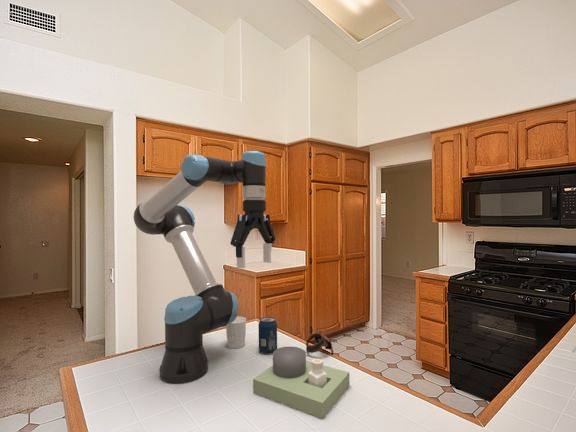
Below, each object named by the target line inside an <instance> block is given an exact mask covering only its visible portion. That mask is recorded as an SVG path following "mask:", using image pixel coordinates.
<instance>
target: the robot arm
mask: <svg viewBox="0 0 576 432" xmlns="http://www.w3.org/2000/svg"><path fill="white" fill-rule="evenodd" d="M241 155H242V156H241V159H240V160H234V161H233V160H232V161H231V160H226V159H220V158H216V157H209V156H207V155H206V156H205V155H201V154H191V153H190V154H188V155H186V156H184V157H183V160H182V162H181V164H180V171H179V172H178V173H177V174H175V176H173V178H171V179H170V180H169V181H168V182H167V183H166V184H165V185H163V186H162V187H161V188H160V189H159V190H158V191H157V192H156V193H154V195H153V196H151V197H150V198H148V199H144V200H143V201H141V202H140V203H139V204H138V205H137V207H136V208H135V210H134V212H133V222H134V225H135V226H136V228H137V229H138V230H139V231H140V232H142V233H144V234H146V235H152V236H153V235H154V236H155V235H163V238H164V240H165V242H167V243H169V244H171V245H172V247H173V250H174V251H175V254H176V256H177V258H178V260H179V262H180V264H181V266H182V269H183V271H184V273H185V275H186V278H187V279H188V281H189V284H190V286H191V288H192V290H193V292H194V295H188V296H181V297H179V298H175V299H173V300H172V301H170V302H169V303H167V305H166V307H165V311H164V317H163V319H164V320H163V321H164V338H165V339H164V348H165V349H164V353H163V357H162V361H161V364H160V366H159V379H160V380H161V381H162V382H164V383H167V384H185V383H189V382H193V381H196V380H197V379H200V378H202V377H204V376H205V375H206V374H207V373H208V371H209V360H208V357H207V354H206V351H205V349H204V346H203V344H204V343H203V339H204V337H203V335H204V334H206V333H209V332H211V331H215V330H217V329H220V328H223V327H224V328H225V327H226V325H228V324H230V323H232V322H233V321H234V320H235V319H236V317H238V314H239V301H238V298H237V296H236V295H235V293H233V292H231V291H230V290H229V291H228V290H226V289H225V288H224V286H223V284H221V283H218V282H217V281H216V279H215V277H214V275H213V273H212V271H211V269H210V267H209V265H208V263H207V261H206V259H205V257H204V254H203V253H202V251H201V248H200V247H199V245H198V243H197V241H196V238H195V237H194V235H193V233H194V230H195V229H194V228H195V225H196V221H195V214H194V213H193V211H192V209H190V208H189V207H187V206H184V205H179V204H180V203H181V202H183V201H184V200H185V199H186V198H188V197H189V196H190V195H192V193H194V192H195V191H196V190H197V189H198V188H200V187H201V186H202V185H204V184H205V183H206V182H213V183H219V184H220V185H228V186H229V185H233V184H234V185H235V184H242V199H244V200H243V201H242V212H244V214H237V219H236V221H237V222H236V224H235V227H234V230H233V234H232V237H231V240H230V245H231V246H232V247H235V258H236V269H246V247H245V246H244V245H245V242H246V241H247V239H248V237H249V234H250V233H251V231H253V230H254V229H257V230H258V232H259V234H260V236H261V238H262V240H263V241H264V242H263V244H262V247H263V248H262V253H263V256H262V259H263V261H262V262H263V263H268V264H269V263H272V244H274V243H275V242H276V236H275V233H274V230H273V226H272V223H271V218H270V217H271V216H270V214H264V213H265V212H266V211H267V201H266V200H265V199H266V198H267V194H266V193H267V192H266V190H267V189H266V187H267V186H266V184H267V183H266V178H267V177H266V176H267V175H266V169H267V165H266V164H267V163H266V155H265V153H264V152H263V151H262V152H261V151H257V150H247V151H244V152H243V153H242V154H241Z"/></svg>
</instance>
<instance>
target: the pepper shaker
mask: <svg viewBox="0 0 576 432" xmlns="http://www.w3.org/2000/svg"><path fill="white" fill-rule="evenodd" d="M311 362H312V371H310V372H309V373H308V384H310V385H313V386H317V387H320V388H323V387H324V386H325V385H326V384H327V375H326V373H325V372H324V371H323V365H324V361H323V359H321V358H313V359H312V360H311Z"/></svg>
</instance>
